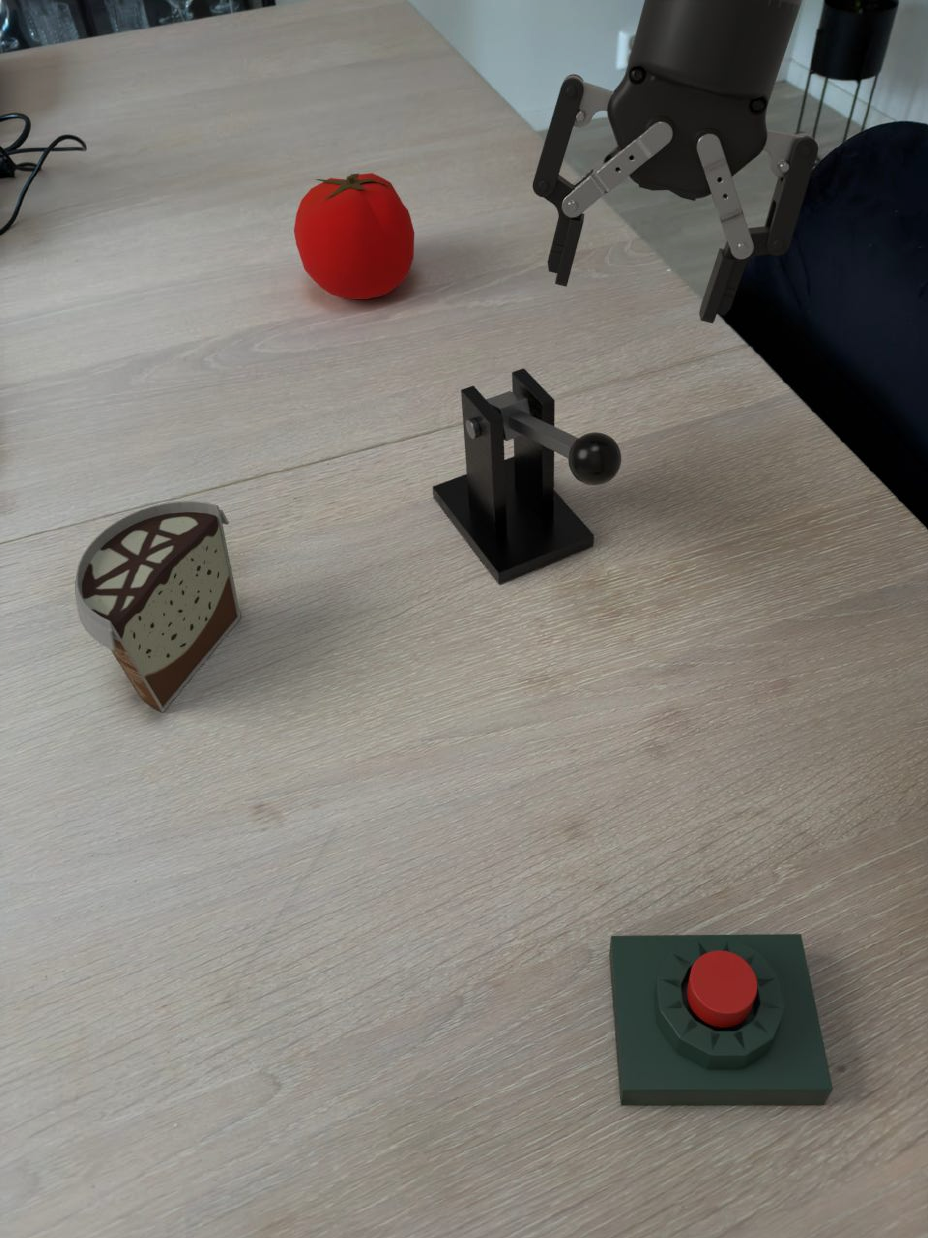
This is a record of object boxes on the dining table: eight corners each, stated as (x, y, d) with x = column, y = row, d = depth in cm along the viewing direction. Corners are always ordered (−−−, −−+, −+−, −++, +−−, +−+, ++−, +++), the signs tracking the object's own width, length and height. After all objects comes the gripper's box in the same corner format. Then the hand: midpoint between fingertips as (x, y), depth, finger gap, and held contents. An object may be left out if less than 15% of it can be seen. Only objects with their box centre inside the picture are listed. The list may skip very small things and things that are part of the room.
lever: (634, 481, 66) (627, 431, 65) (589, 499, 65) (581, 449, 64) (523, 425, 79) (515, 382, 77) (483, 439, 78) (474, 396, 76)
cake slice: (183, 580, 81) (147, 476, 74) (252, 604, 79) (222, 500, 72) (76, 700, 74) (24, 598, 67) (149, 729, 72) (103, 628, 65)
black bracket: (593, 546, 81) (599, 418, 73) (499, 585, 79) (493, 457, 71) (522, 464, 88) (519, 338, 79) (433, 497, 86) (420, 371, 77)
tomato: (392, 326, 103) (379, 214, 94) (283, 309, 106) (261, 198, 98) (438, 262, 110) (430, 153, 102) (335, 248, 113) (319, 140, 105)
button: (747, 965, 55) (751, 949, 54) (757, 1028, 53) (762, 1013, 52) (683, 966, 55) (686, 950, 54) (691, 1028, 53) (694, 1013, 52)
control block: (794, 952, 59) (807, 917, 56) (824, 1105, 54) (840, 1076, 51) (609, 954, 60) (612, 919, 57) (620, 1105, 54) (625, 1076, 51)
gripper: (586, -56, 51) (507, 288, 59) (884, 18, 51) (761, 351, 59) (590, -56, 57) (518, 255, 66) (854, 10, 57) (747, 312, 66)
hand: (633, 300), depth 62 cm, fingers open, 8 cm apart
